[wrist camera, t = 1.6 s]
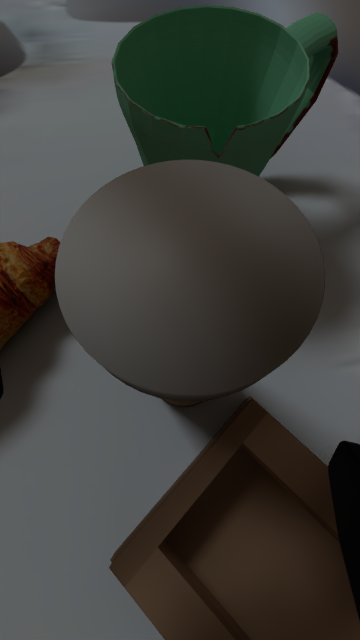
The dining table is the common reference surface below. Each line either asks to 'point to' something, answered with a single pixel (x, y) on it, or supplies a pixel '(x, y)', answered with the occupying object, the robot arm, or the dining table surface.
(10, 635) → the dining table surface
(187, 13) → the mug
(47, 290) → the croissant
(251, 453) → the tray
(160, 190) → the peg
